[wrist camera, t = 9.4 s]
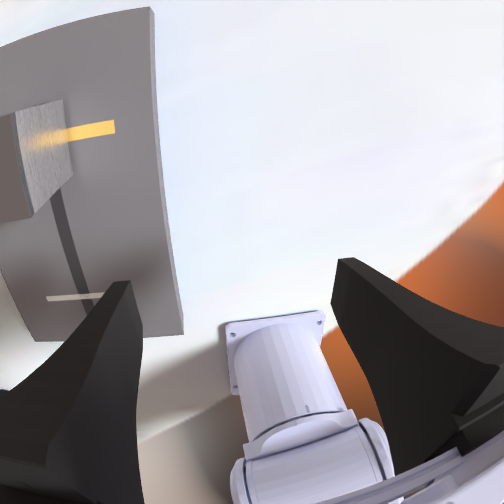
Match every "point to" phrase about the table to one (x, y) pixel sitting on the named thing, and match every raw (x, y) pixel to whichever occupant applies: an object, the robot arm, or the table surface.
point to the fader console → (93, 178)
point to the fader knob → (32, 159)
